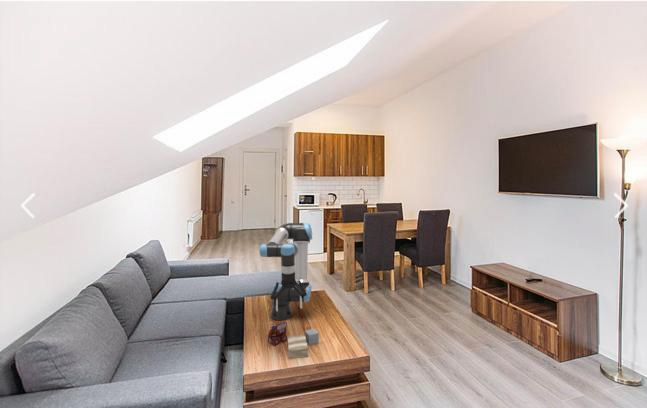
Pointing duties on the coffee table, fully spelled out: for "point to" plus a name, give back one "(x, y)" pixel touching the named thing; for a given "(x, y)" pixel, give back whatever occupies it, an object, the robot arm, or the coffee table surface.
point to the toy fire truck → (277, 333)
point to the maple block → (297, 346)
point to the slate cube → (312, 336)
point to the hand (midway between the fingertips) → (289, 308)
